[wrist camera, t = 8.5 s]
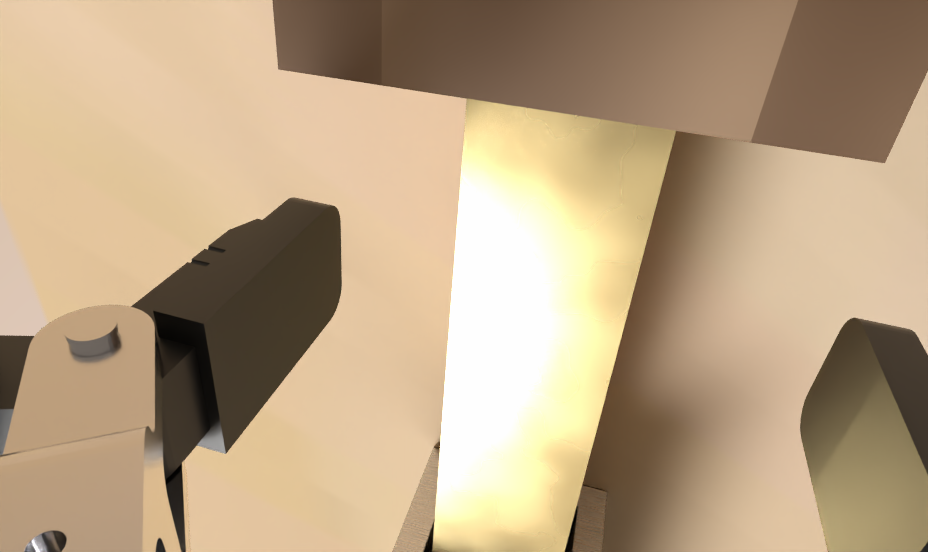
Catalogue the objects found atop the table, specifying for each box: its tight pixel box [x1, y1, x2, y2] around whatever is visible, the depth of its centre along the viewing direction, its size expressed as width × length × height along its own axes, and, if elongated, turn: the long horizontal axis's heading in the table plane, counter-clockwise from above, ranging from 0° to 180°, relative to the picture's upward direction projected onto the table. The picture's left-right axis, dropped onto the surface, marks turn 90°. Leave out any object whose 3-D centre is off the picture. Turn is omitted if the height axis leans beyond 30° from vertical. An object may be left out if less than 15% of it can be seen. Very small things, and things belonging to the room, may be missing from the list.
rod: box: [432, 99, 676, 552], centre depth 18 cm, size 4×24×4 cm, turn 175°
